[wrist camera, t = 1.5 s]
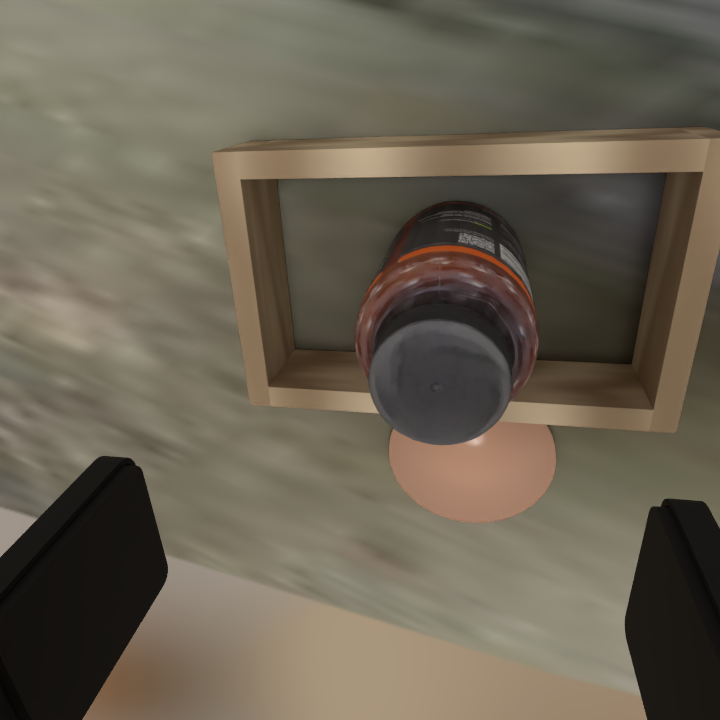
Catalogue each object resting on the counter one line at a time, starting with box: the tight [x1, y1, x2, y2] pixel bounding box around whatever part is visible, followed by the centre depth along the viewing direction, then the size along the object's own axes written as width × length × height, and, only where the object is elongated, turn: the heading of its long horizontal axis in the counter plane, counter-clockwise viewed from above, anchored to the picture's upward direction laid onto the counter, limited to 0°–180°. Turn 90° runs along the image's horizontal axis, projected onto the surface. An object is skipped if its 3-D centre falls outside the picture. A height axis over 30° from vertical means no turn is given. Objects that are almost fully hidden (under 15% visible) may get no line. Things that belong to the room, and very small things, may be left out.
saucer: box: [389, 421, 556, 523], centre depth 30 cm, size 8×8×1 cm
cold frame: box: [212, 127, 720, 433], centre depth 24 cm, size 18×11×4 cm, turn 93°
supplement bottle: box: [355, 202, 539, 445], centre depth 21 cm, size 6×6×11 cm
